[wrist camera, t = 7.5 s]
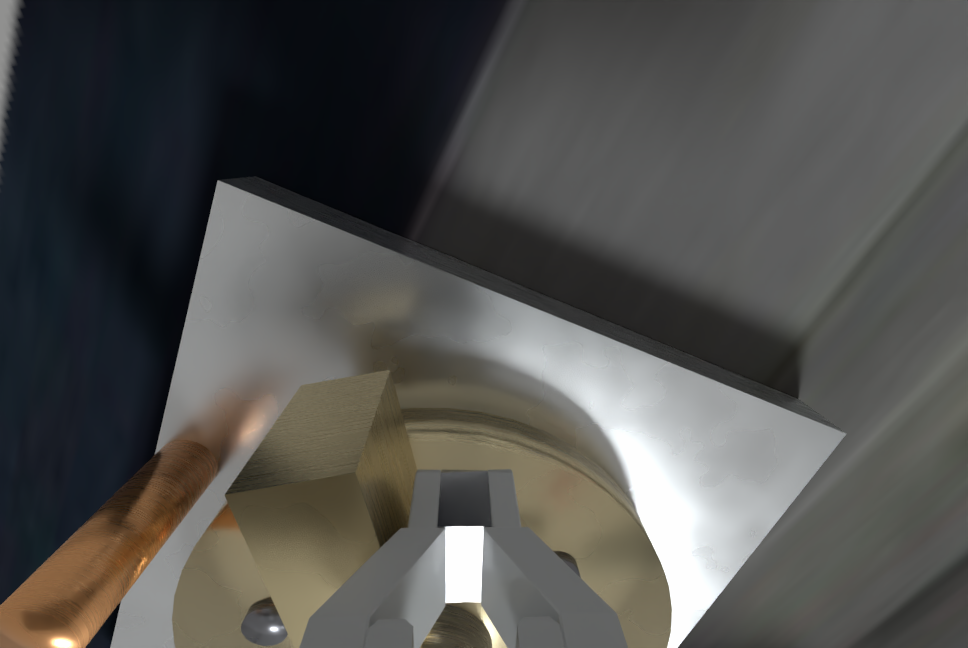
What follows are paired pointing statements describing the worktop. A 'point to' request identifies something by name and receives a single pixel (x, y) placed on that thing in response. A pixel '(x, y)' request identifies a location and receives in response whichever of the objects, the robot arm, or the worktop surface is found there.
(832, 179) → the worktop surface
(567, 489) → the flange plate
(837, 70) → the worktop surface
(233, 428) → the base plate
